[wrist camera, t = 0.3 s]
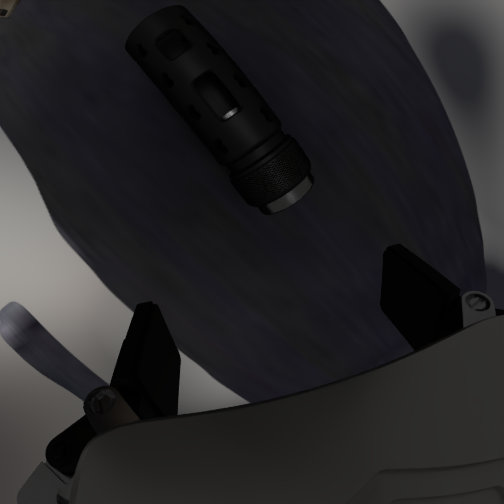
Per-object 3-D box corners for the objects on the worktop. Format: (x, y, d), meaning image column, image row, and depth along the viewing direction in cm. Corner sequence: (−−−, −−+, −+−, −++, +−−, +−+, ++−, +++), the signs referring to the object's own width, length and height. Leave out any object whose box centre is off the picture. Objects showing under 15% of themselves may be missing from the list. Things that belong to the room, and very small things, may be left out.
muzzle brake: (190, 23, 29) (184, -8, 20) (304, 168, 40) (331, 180, 31) (135, 61, 30) (112, 41, 21) (252, 206, 41) (264, 229, 32)
